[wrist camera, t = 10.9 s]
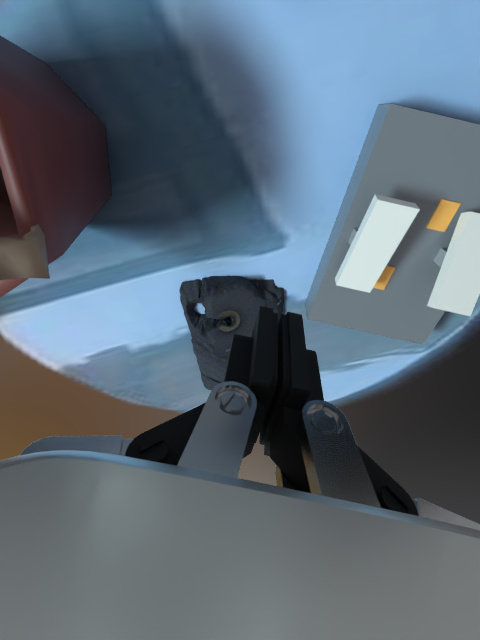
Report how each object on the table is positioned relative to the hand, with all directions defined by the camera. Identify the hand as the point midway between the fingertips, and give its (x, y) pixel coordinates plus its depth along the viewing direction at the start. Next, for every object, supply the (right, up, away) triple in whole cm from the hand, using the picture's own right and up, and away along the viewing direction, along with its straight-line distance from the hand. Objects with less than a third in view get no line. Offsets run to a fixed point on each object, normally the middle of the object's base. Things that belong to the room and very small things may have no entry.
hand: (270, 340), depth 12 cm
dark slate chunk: (-2, -2, +37) cm, 38 cm away
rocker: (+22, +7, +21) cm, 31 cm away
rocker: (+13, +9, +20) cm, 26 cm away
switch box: (+18, +11, +26) cm, 33 cm away
